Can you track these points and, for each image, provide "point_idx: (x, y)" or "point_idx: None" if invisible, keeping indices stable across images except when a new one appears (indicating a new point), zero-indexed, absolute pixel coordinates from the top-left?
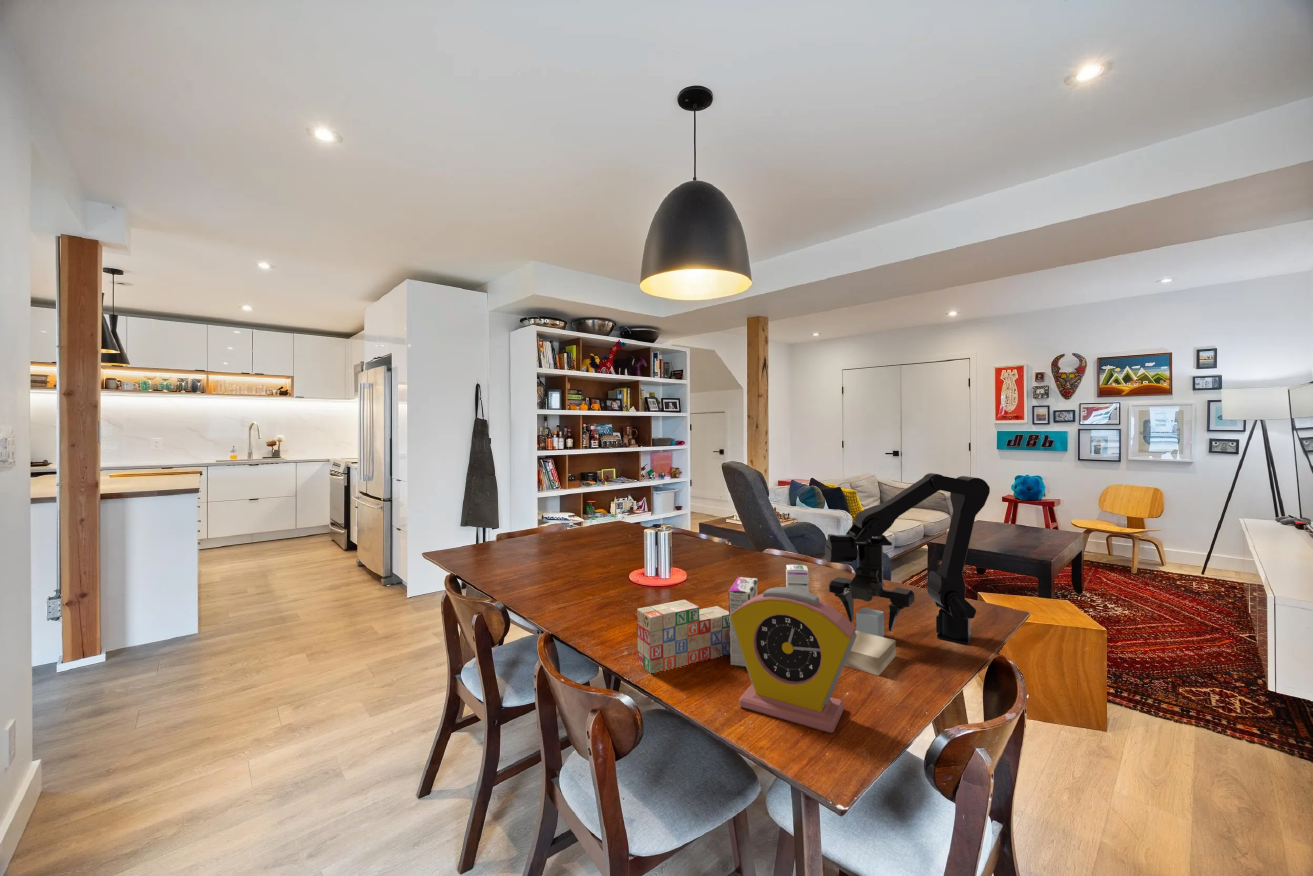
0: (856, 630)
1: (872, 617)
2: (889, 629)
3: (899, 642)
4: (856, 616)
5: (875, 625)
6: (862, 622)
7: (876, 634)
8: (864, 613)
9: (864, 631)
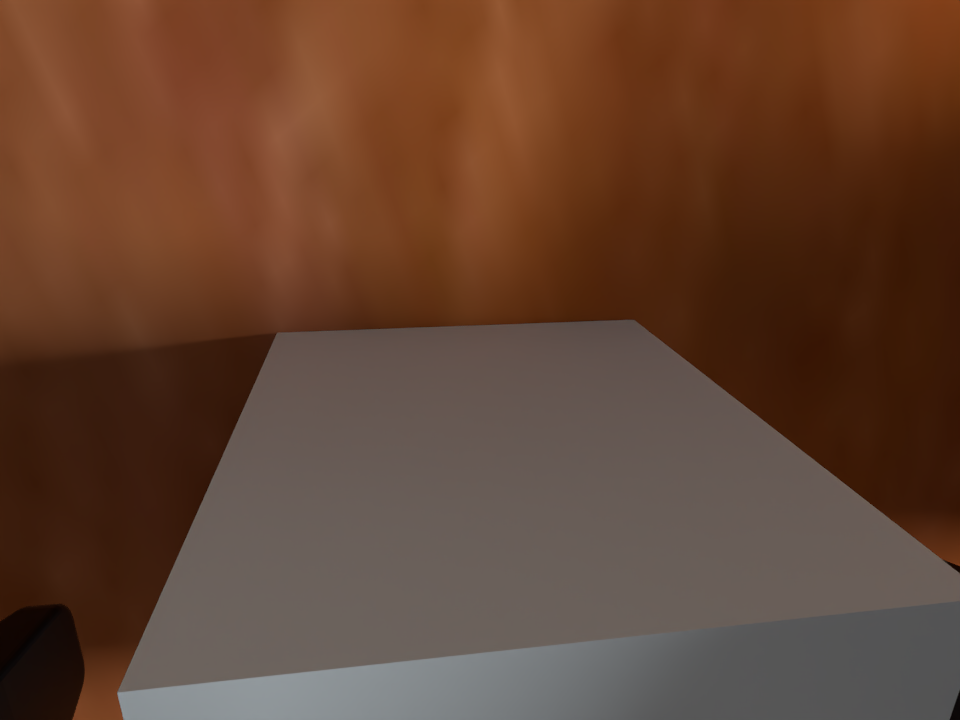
0: (678, 356)
1: (352, 624)
2: (24, 621)
3: (4, 554)
4: (875, 515)
5: (274, 479)
6: (635, 457)
7: (278, 378)
8: (709, 718)
9: (530, 373)
